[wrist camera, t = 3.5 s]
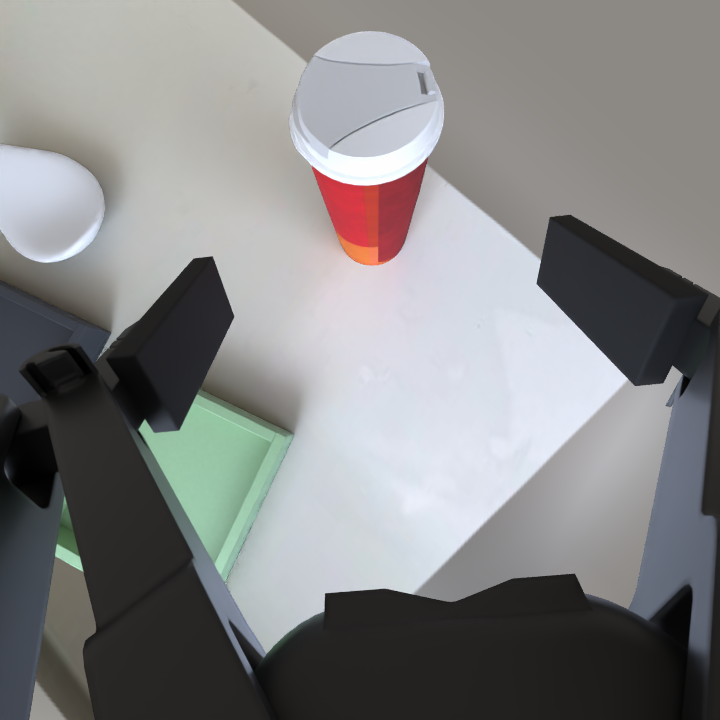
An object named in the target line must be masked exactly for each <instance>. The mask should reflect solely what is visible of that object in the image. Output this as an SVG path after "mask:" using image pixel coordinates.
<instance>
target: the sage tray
mask: <svg viewBox="0 0 720 720" xmlns="http://www.w3.org/2000/svg"><path fill="white" fill-rule="evenodd" d="M139 431H140V432H141V434H142V435H143V437H144V438H145V440H146V442H147V444H148V445H149V447H150V449H151V451H152V453H153V455H154V456H155V458H156V460H157V462H158V464H159V465H160V467H161V469H162V471H163V473H164V474H165V476H166V478H167V480H168V482H169V483H170V485H171V487H172V489H173V491H174V492H175V494H176V496H177V498H178V500H179V501H180V503H181V505H182V507H183V509H184V511H185V512H186V514H187V516H188V518H189V520H190V521H191V523H192V525H193V527H194V529H195V530H196V532H197V534H198V536H199V538H200V539H201V541H202V543H203V545H204V547H205V548H206V550H207V552H208V554H209V556H210V558H211V559H212V561H213V563H214V565H215V567H216V568H217V570H218V572H219V574H220V576H221V577H222V579H223V581H224V583H225V581H226V579H227V577H228V575H229V573H230V570H231V568H232V566H233V564H234V562H235V560H236V558H237V556H238V553H239V551H240V549H241V547H242V545H243V543H244V541H245V539H246V536H247V534H248V532H249V530H250V528H251V526H252V524H253V522H254V519H255V517H256V515H257V513H258V511H259V509H260V507H261V505H262V502H263V500H264V498H265V496H266V494H267V492H268V490H269V488H270V485H271V483H272V481H273V479H274V477H275V475H276V473H277V471H278V468H279V466H280V464H281V462H282V460H283V458H284V456H285V454H286V451H287V449H288V447H289V445H290V443H291V441H292V439H293V437H294V434H292V433H290V432H288V431H286V430H284V429H282V428H280V427H278V426H275V425H273V424H271V423H269V422H267V421H265V420H263V419H261V418H259V417H257V416H255V415H253V414H251V413H249V412H246V411H244V410H242V409H240V408H238V407H236V406H234V405H232V404H230V403H228V402H226V401H224V400H222V399H219V398H217V397H215V396H213V395H211V394H209V393H207V392H205V391H203V390H201V389H199V391H198V393H197V395H196V397H195V399H194V401H193V404H192V406H191V408H190V410H189V412H188V414H187V416H186V418H185V420H184V422H183V424H182V426H181V428H180V430H179V431H170V432H160V433H154V432H153V431H152V429H151V428H150V426H149V424H148V423H147V421H146V420H144V421H143V423H142V425H141V426H140V428H139ZM55 556H56V557H58V558H60V559H62V560H63V561H65V562H67V563H69V564H70V565H72V566H74V567H76V568H77V569H79V570H81V571H83V568H82V564H81V560H80V556H79V552H78V548H77V543H76V539H75V535H74V531H73V527H72V523H71V519H70V515H69V511H68V507H67V503H66V498H65V496H64V502H63V509H62V515H61V521H60V528H59V534H58V540H57V547H56V553H55Z"/></svg>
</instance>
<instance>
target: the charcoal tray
mask: <svg viewBox="0 0 720 720" xmlns="http://www.w3.org/2000/svg"><path fill="white" fill-rule="evenodd" d="M110 334H111V333H110V332H108V331H106V330H104V329H102V328H100V327H98V326H96V325H93V324H91V323H89V322H87V321H85V320H83V319H81V318H79V317H77V316H75V315H73V314H70V313H68V312H66V311H64V310H62V309H60V308H58V307H56V306H54V305H52V304H50V303H47V302H45V301H43V300H41V299H39V298H37V297H35V296H33V295H31V294H29V293H26V292H24V291H22V290H20V289H18V288H16V287H14V286H12V285H10V284H8V283H6V282H3V281H1V280H0V394H2V393H3V394H5V395H7V396H8V397H9V398H10V399H11V400H12V401H13V402H14V403H15V405H16V406H19V405H22V404H26V403H29V402H33V401H36V400H39V399H41V397H40V396H39V395H38V393H37V392H36V391H35V390H34V389H33V388H32V386H31V385H30V384H29V383H28V382H27V381H26V379H25V378H24V377H23V376H22V375H21V374H20V372H19V369H20V366H21V365H22V364H23V363H24V362H25V361H26V360H27V359H28V358H30V357H32V356H33V355H35V354H36V353H38V352H41V351H43V350H45V349H47V348H50V347H53V346H56V345H59V344H65V343H77V344H79V345H80V346H81V347H82V348H83V350H84V351H85V353H86V354H87V355H88V357H89V358H90V360H91V361H92V363H93V364H94V363H95V362H96V360H97V358H98V356H99V354H100V352H101V351H102V349H103V347H104V345H105V343H106V341H107V339H108V338H109V336H110Z"/></svg>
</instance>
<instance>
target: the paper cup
mask: <svg viewBox="0 0 720 720" xmlns="http://www.w3.org/2000/svg"><path fill="white" fill-rule="evenodd" d="M443 123H444V103H443V98H442V95H441V92H440V89H439V87H438V85H437V83H436V81H435V78H434V76H433V72H432V71H430V62H429V61H428V59H427V58H426V56H425V55H424V54H423V53H422V52H421V51H420V50H419V49H418V48H417V47H416V46H415V45H413V44H412V43H410V42H408V41H407V40H405V39H403V38H401V37H399V36H396V35H392V34H389V33H384V32H377V31H364V32H356V33H352V34H348V35H345V36H342V37H340V38H337V39H335V40H333V41H332V42H330V43H328V44H326V45H325V46H324V47H323V48H321V49H320V50H319V51H317V52H316V54H315V55H314V56H313V57H312V59H311V61H310V62H309V64H308V65H307V67H306V69H305V70H304V72H303V74H302V76H301V79H300V82H299V85H298V88H297V90H296V93H295V95H294V98H293V102H292V111H291V113H290V116H289V128H290V133H291V137H292V140H293V143H294V145H295V147H296V150H297V151H298V152H299V153H300V154H301V155H302V156H303V157H304V158H305V159H306V160H307V161H308V162H309V163H310V164H311V166H312V169H313V172H314V174H315V177H316V180H317V183H318V185H319V188H320V191H321V193H322V196H323V199H324V201H325V204H326V207H327V209H328V212H329V215H330V217H331V220H332V223H333V225H334V228H335V231H336V233H337V236H338V238H339V241H340V243H341V245H342V247H343V249H344V251H345V252H346V253H347V255H348V256H349V257H350V258H352V259H353V260H354V261H356V262H358V263H361V264H364V265H380V264H383V263H386V262H388V261H390V260H391V259H393V258H394V257H395V256H396V255H397V254H398V253H399V251H400V250H401V248H402V246H403V244H404V242H405V239H406V236H407V233H408V229H409V226H410V222H411V219H412V215H413V211H414V208H415V205H416V201H417V198H418V195H419V192H420V188H421V184H422V180H423V175H424V171H425V167H426V164H427V160H428V156H429V155H430V154H431V152H432V150H433V149H434V147H435V146H436V144H437V142H438V140H439V137H440V135H441V132H442V128H443Z"/></svg>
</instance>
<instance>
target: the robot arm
mask: <svg viewBox="0 0 720 720" xmlns="http://www.w3.org/2000/svg"><path fill="white" fill-rule="evenodd" d="M537 285H538V286H539V287H540V288H541V289H542V290H543V291H544V292H545V293H546V294H547V295H548V296H549V297H550V298H551V299H552V300H553V301H554V302H555V303H556V304H557V305H558V306H559V308H560V309H561V310H562V311H563V312H564V313H565V314H566V315H567V316H568V317H569V318H570V319H571V320H572V321H573V322H574V323H575V324H576V325H577V326H578V327H579V328H580V329H581V330H582V331H583V332H584V333H585V335H586V336H587V337H588V338H589V339H590V340H591V341H592V342H593V343H594V344H595V345H596V346H597V347H598V348H599V349H600V350H601V351H602V352H603V353H604V354H605V355H606V356H607V357H608V358H609V359H610V360H611V361H612V363H613V364H614V365H615V366H616V367H617V368H618V369H619V370H620V371H621V372H622V373H623V374H624V375H625V376H626V377H627V378H628V379H629V380H630V381H631V382H632V383H633V384H634V385H635V386H640V385H650V384H660V383H664V381H665V379H666V377H667V375H668V373H669V371H670V369H671V367H672V365H673V366H674V367H675V368H677V369H678V370H679V371H680V372H681V373H682V374H683V375H682V377H681V379H680V381H679V382H678V384H677V386H676V388H675V390H674V391H673V393H672V395H671V397H670V399H669V400H668V403H667V404H666V406H668V407H671V406H672V405H673V407H672V412H671V417H670V422H669V427H668V432H667V437H666V443H665V447H664V452H663V457H662V462H661V467H660V473H659V478H658V482H657V488H656V493H655V498H654V503H653V508H652V513H651V518H650V523H649V528H648V533H647V538H646V543H645V548H644V554H643V558H642V563H641V568H640V573H639V579H638V583H637V588H636V592H635V595H634V598H633V600H632V602H631V604H630V606H629V609H626V608H624V607H622V606H619V605H617V604H615V603H613V602H610V601H608V600H605V599H602V598H599V597H596V596H592V595H589V594H585V593H584V592H583V590H582V588H581V586H580V583H579V582H578V579H577V577H576V575H575V574H566V575H553V576H540V577H527V578H515V579H511V580H508V581H506V582H503V583H501V584H499V585H496V586H493V587H491V588H488V589H486V590H483V591H481V592H478V593H476V594H474V595H471V596H469V597H466V598H464V599H461V600H458V601H456V602H446V601H440V600H436V599H431V598H427V597H421V596H417V595H412V594H408V593H403V592H398V591H393V590H389V589H375V590H363V591H350V592H337V593H325V611H324V612H322V613H320V614H317V615H315V616H313V617H311V618H310V619H308V620H306V621H304V622H303V623H301V624H299V625H298V626H297V627H295V628H294V629H293V630H291V631H290V632H289V633H287V634H286V635H285V636H284V637H283V638H282V639H281V640H280V641H279V642H278V643H277V644H275V645H274V646H273V648H272V649H271V650H270V651H269V652H268V653H267V654H266V653H265V651H264V649H263V648H262V646H261V644H260V643H259V641H258V640H257V638H256V636H255V635H254V633H253V632H252V630H251V629H250V627H249V626H248V624H247V622H246V621H245V619H244V617H243V615H242V614H241V612H240V610H239V608H238V606H237V604H236V603H235V601H234V599H233V597H232V595H231V594H230V592H229V590H228V588H227V586H226V585H225V583H224V581H223V579H222V577H221V576H220V574H219V572H218V570H217V568H216V567H215V565H214V563H213V561H212V559H211V558H210V556H209V554H208V552H207V550H206V548H205V547H204V545H203V543H202V541H201V539H200V538H199V536H198V534H197V532H196V530H195V529H194V527H193V525H192V523H191V521H190V520H189V518H188V516H187V514H186V512H185V511H184V509H183V507H182V505H181V503H180V501H179V500H178V498H177V496H176V494H175V492H174V491H173V489H172V487H171V485H170V483H169V482H168V480H167V478H166V476H165V474H164V473H163V471H162V469H161V467H160V465H159V464H158V462H157V460H156V458H155V456H154V455H153V453H152V451H151V449H150V447H149V445H148V444H147V442H146V440H145V438H144V437H143V435H142V434H141V432H140V431H139V428H140V426H141V425H142V423H143V421H144V420H146V421H147V423H148V424H149V426H150V428H151V429H152V431H153V432H154V433H160V432H170V431H179V430H180V428H181V426H182V424H183V422H184V420H185V418H186V416H187V414H188V412H189V410H190V408H191V406H192V404H193V401H194V399H195V397H196V395H197V393H198V391H199V389H200V387H201V385H202V383H203V381H204V379H205V377H206V375H207V372H208V370H209V368H210V366H211V364H212V362H213V360H214V358H215V356H216V354H217V352H218V350H219V348H220V346H221V343H222V341H223V339H224V337H225V335H226V333H227V331H228V329H229V327H230V325H231V323H232V321H233V319H234V314H233V312H232V309H231V306H230V303H229V301H228V298H227V295H226V292H225V289H224V287H223V284H222V281H221V278H220V276H219V273H218V270H217V267H216V264H215V262H214V259H213V256H212V257H203V258H195V259H193V260H192V261H191V262H190V263H189V264H188V266H187V267H186V268H185V269H184V270H183V271H182V272H181V274H180V275H179V276H178V277H177V278H176V279H175V280H174V282H173V283H172V284H171V285H170V286H169V287H168V288H167V289H166V291H165V292H164V293H163V294H162V295H161V296H160V297H159V299H158V300H157V301H156V302H155V303H154V304H153V305H152V306H151V308H150V309H149V310H148V311H147V312H146V313H145V314H144V316H143V317H142V318H141V319H140V320H139V321H137V322H136V323H134V324H133V325H131V326H130V327H128V328H127V329H125V330H124V331H123V332H122V333H121V335H120V336H119V337H118V338H117V341H114V342H113V343H112V344H111V346H110V349H107V350H106V351H105V352H104V353H103V354H102V356H101V357H100V358H99V359H98V360H97V361H96V362H95V363H94V364H93V363H92V361H91V360H90V358H89V357H88V355H87V354H86V353H85V351H84V350H83V348H82V347H81V346H80V345H79V344H77V343H65V344H59V345H56V346H53V347H50V348H47V349H45V350H43V351H41V352H38V353H36V354H35V355H33V356H32V357H30V358H28V359H27V360H26V361H25V362H24V363H23V364H22V365H21V366H20V369H19V372H20V374H21V375H22V376H23V377H24V378H25V379H26V381H27V382H28V383H29V384H30V385H31V386H32V388H33V389H34V390H35V391H36V392H37V393H38V395H39V396H40V397H41V399H39V400H36V401H33V402H29V403H26V404H22V405H19V406H16V405H15V403H14V402H13V401H12V400H11V399H10V398H9V397H8V396H7V395H5V394H3V393H2V394H0V720H29V717H30V711H31V705H32V698H33V691H34V686H35V679H36V673H37V667H38V660H39V654H40V648H41V642H42V635H43V629H44V623H45V616H46V610H47V604H48V597H49V591H50V585H51V578H52V572H53V566H54V559H55V553H56V547H57V540H58V534H59V528H60V521H61V515H62V509H63V502H64V496H65V498H66V503H67V507H68V511H69V515H70V519H71V523H72V527H73V531H74V535H75V539H76V543H77V548H78V552H79V556H80V560H81V564H82V568H83V572H84V576H85V580H86V584H87V588H88V592H89V597H90V601H91V605H92V609H93V613H94V617H95V621H96V633H95V634H93V635H92V636H91V637H89V638H88V639H87V640H86V641H85V644H84V648H83V659H84V668H85V673H86V678H87V683H88V688H89V693H90V698H91V703H92V708H93V712H94V717H95V720H720V298H719V297H718V296H716V295H714V294H712V293H710V292H709V291H707V290H705V289H703V288H702V287H700V286H698V285H696V284H693V282H691V281H689V280H688V279H686V278H682V276H681V275H679V274H677V273H675V272H673V271H672V270H670V269H668V268H664V267H661V266H658V265H657V264H655V263H653V262H652V261H650V260H648V259H646V258H645V257H643V256H641V255H639V254H638V253H636V252H634V251H632V250H631V249H629V248H627V247H625V246H624V245H622V244H620V243H618V242H617V241H615V240H613V239H612V238H610V237H608V236H606V235H605V234H603V233H601V232H599V231H597V230H596V229H594V228H592V227H591V226H589V225H587V224H585V223H584V222H582V221H580V220H578V219H577V218H575V217H573V216H572V215H565V216H556V217H550V219H549V224H548V229H547V234H546V239H545V244H544V249H543V254H542V259H541V264H540V269H539V274H538V279H537Z"/></svg>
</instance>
